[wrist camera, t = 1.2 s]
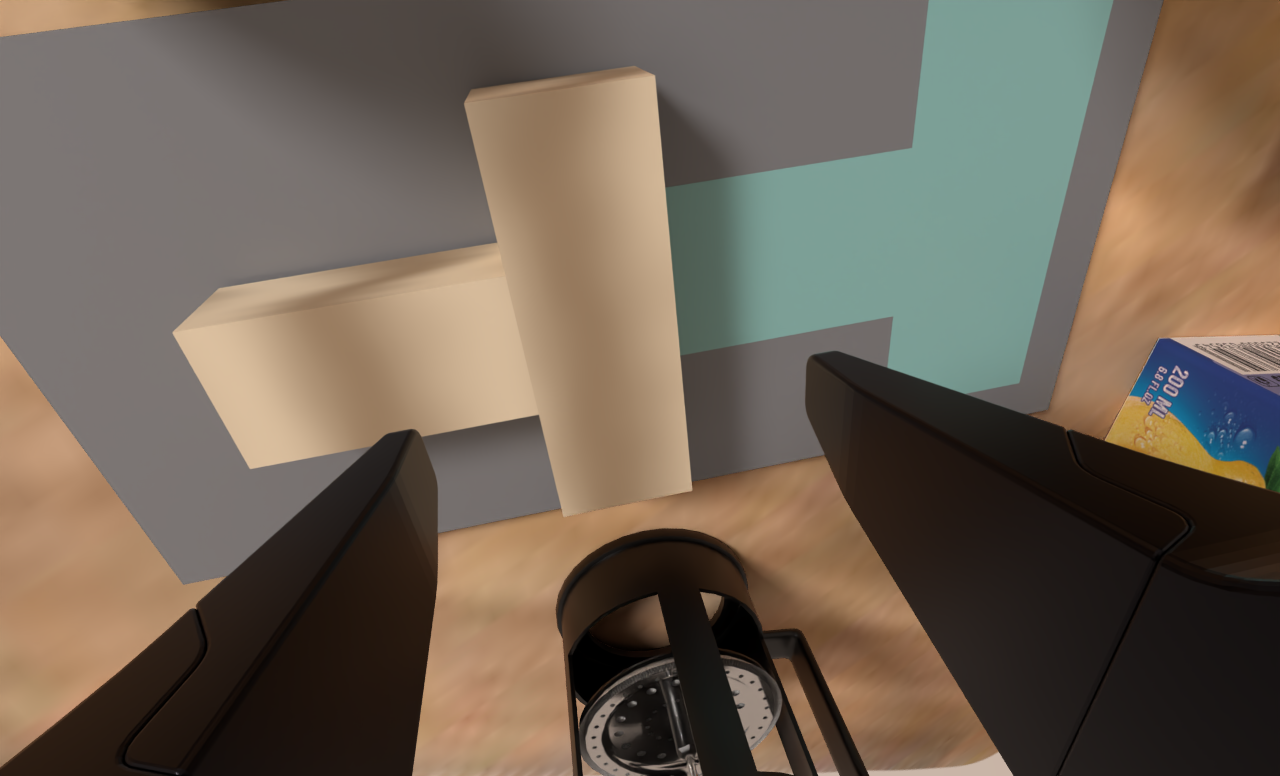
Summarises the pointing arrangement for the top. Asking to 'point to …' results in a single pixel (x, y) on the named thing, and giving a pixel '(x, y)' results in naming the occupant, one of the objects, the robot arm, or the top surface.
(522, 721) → the top surface
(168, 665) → the robot arm
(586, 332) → the maple T-block
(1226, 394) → the beverage box
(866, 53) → the board
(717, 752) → the french press
